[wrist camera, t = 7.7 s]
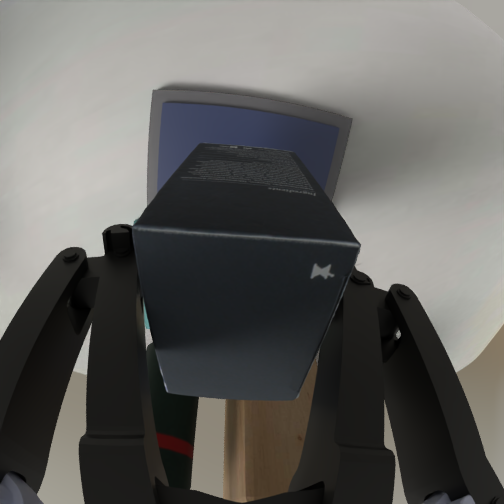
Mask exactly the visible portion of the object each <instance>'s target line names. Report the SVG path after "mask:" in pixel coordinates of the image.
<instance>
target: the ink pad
mask: <svg viewBox="0 0 504 504" xmlns="http://www.w3.org/2000/svg"><path fill="white" fill-rule="evenodd" d="M351 123H352V118H349V117H345V116H342V115H338V114H334V113H331V112H327V111H323V110H319V109H315V108H310V107H306V106H301V105H297V104H292V103H287V102H281V101H276V100H270V99H264V98H258V97H251V96H244V95H236V94H227V93H216V92H204V91H188V90H153V93H152V102H151V113H150V126H149V142H148V165H147V206H148V205H149V204H150V202H151V201H152V200H153V199H154V197H155V196H156V194H157V193H158V191H159V190H160V189H161V188H162V186H163V185H164V184H165V183H166V182H167V180H168V179H169V178H170V177H171V175H172V174H173V173H174V172H175V171H176V170H177V169H178V167H179V166H180V165H181V164H182V163H183V161H184V160H185V159H186V158H187V157H188V155H189V154H190V153H191V152H192V151H193V150H194V149H195V148H196V147H197V145H198V144H199V143H213V144H227V145H241V146H250V147H262V148H270V149H278V150H286V151H292V152H295V153H296V155H297V156H298V157H299V158H300V160H301V161H302V162H303V164H304V165H305V166H306V168H307V169H308V170H309V172H310V173H311V174H312V175H313V177H314V178H315V179H316V181H317V182H318V183H319V185H320V186H321V188H322V189H323V190H324V192H325V193H326V195H327V196H328V197H329V199H330V200H331V202H332V198H333V195H334V191H335V187H336V184H337V180H338V176H339V172H340V169H341V165H342V161H343V157H344V153H345V149H346V145H347V141H348V136H349V132H350V128H351Z"/></svg>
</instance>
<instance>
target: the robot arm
mask: <svg viewBox="0 0 504 504" xmlns="http://www.w3.org/2000/svg"><path fill="white" fill-rule="evenodd" d="M102 235H103V243H104V250H105V255H104V256H101V257H90V258H87V256H86V252H85V250H84V249H82V248H79V247H70V248H66V249H65V250H63V251H61V252H60V253H59V254H58V255H57V256H56V257H55V258H54V260H53V261H52V262H51V264H50V265H49V266H48V268H47V269H46V270H45V272H44V273H43V274H42V276H41V277H40V278H39V280H38V281H37V283H36V284H35V285H34V287H33V288H32V290H31V291H30V293H29V294H28V296H27V297H26V299H25V300H24V302H23V303H22V305H21V306H20V308H19V309H18V311H17V313H16V314H15V316H14V317H13V319H12V321H11V322H10V324H9V326H8V328H7V329H6V331H5V333H4V335H3V336H2V338H1V340H0V504H43V502H42V501H41V500H40V499H39V498H38V496H37V493H38V491H39V489H40V486H41V484H42V481H43V478H44V475H45V471H46V466H47V462H48V457H49V452H50V447H51V443H52V439H53V435H54V430H55V427H56V423H57V419H58V416H59V412H60V409H61V405H62V402H63V399H64V396H65V392H66V389H67V386H68V383H69V380H70V377H71V374H72V372H73V369H74V366H75V363H76V361H77V358H78V355H79V353H80V350H81V347H82V345H83V342H84V340H85V337H86V335H87V333H88V330H89V328H90V325H91V323H92V327H91V336H90V345H89V356H88V370H87V393H86V394H87V395H86V423H87V427H86V433H85V435H83V436H82V437H81V439H80V442H79V463H80V473H81V482H82V489H83V496H84V502H85V504H392V500H393V491H394V479H395V455H394V454H393V452H392V451H391V450H389V449H387V448H386V447H385V445H384V400H385V404H386V407H387V411H388V415H389V420H390V423H391V428H392V432H393V437H394V441H395V446H396V451H397V456H398V461H399V467H400V472H401V478H402V483H403V488H404V493H405V497H406V500H407V503H408V504H504V488H503V487H502V485H501V483H500V481H499V479H498V477H497V476H496V474H495V472H494V470H493V468H492V467H491V465H490V463H489V461H488V460H487V458H486V456H485V452H484V449H483V445H482V442H481V438H480V435H479V432H478V429H477V426H476V423H475V420H474V417H473V414H472V411H471V409H470V406H469V403H468V401H467V398H466V396H465V393H464V391H463V388H462V386H461V384H460V381H459V379H458V376H457V374H456V372H455V370H454V367H453V365H452V363H451V361H450V359H449V357H448V355H447V353H446V350H445V348H444V346H443V344H442V342H441V340H440V338H439V336H438V334H437V333H436V331H435V329H434V327H433V325H432V323H431V321H430V319H429V318H428V316H427V314H426V312H425V310H424V309H423V307H422V305H421V303H420V302H419V300H418V298H417V296H416V295H415V293H414V292H413V291H412V290H411V289H409V287H407V286H405V285H401V284H393V285H391V287H390V289H389V291H384V290H381V289H378V288H375V287H374V284H373V282H372V280H371V279H370V277H369V276H367V275H366V274H364V273H363V272H360V271H357V269H356V268H355V266H354V268H353V270H352V273H351V275H350V277H349V279H348V282H347V285H346V288H345V290H344V292H343V296H342V298H341V300H340V302H339V305H338V307H337V309H336V311H335V314H334V317H333V318H332V321H331V324H330V326H329V328H328V331H327V333H326V336H325V338H324V339H323V342H322V344H321V347H320V352H319V360H318V367H317V374H316V380H315V386H314V393H313V399H312V404H311V410H310V415H309V421H308V426H307V431H306V436H305V440H304V445H303V450H302V454H301V458H300V463H299V466H298V468H297V470H296V472H295V474H294V476H293V478H292V480H291V482H290V485H289V489H288V492H284V493H281V494H277V495H274V496H270V497H266V498H262V499H258V500H254V501H249V502H244V503H240V502H235V501H231V500H227V499H223V498H219V497H216V496H212V495H209V494H206V493H203V492H200V491H196V490H188V489H181V488H175V487H169V484H168V480H167V476H166V473H165V469H164V466H163V463H162V460H161V456H160V451H159V446H158V440H157V435H156V429H155V423H154V417H153V410H152V403H151V395H150V386H149V377H148V367H147V355H146V341H145V321H144V300H143V295H142V290H141V285H140V279H139V273H138V268H137V262H136V256H135V249H134V243H133V236H132V226H131V225H128V224H118V225H113V226H110V227H108V228H107V229H105V230H104V232H103V233H102ZM398 330H400V333H401V336H400V338H399V339H397V337H396V333H397V332H398Z"/></svg>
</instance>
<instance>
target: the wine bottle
mask: <svg viewBox="0 0 504 504" xmlns="http://www.w3.org/2000/svg"><path fill="white" fill-rule="evenodd" d="M146 355H147V367H148V377H149V386H150V395H151V403H152V410H153V417H154V423H155V429H156V435H157V440H158V446H159V451H160V456H161V460H162V463H163V466H164V469H165V473H166V476H167V480H168V484H169V487H175V488H181V489H188V490H190V488H191V476H192V462H193V450H194V440H195V428H196V418H197V409H198V399H199V397H196V396H187V395H180V394H173V393H168V392H167V390H166V387H165V384H164V380H163V376H162V373H161V370H160V366H159V363H158V359H157V355H156V351H155V348H154V344H153V343H151V344H149V345H148V347H147V350H146Z"/></svg>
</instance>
